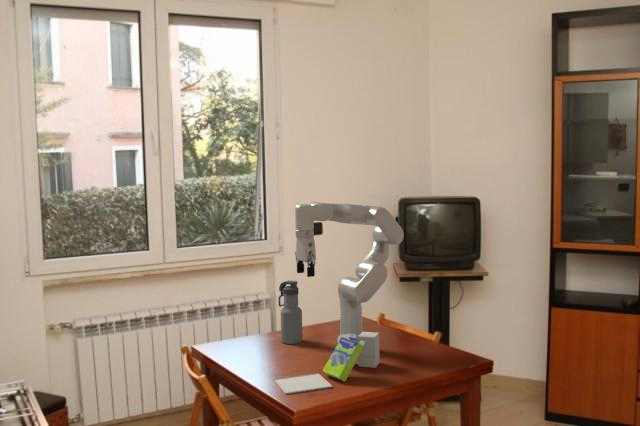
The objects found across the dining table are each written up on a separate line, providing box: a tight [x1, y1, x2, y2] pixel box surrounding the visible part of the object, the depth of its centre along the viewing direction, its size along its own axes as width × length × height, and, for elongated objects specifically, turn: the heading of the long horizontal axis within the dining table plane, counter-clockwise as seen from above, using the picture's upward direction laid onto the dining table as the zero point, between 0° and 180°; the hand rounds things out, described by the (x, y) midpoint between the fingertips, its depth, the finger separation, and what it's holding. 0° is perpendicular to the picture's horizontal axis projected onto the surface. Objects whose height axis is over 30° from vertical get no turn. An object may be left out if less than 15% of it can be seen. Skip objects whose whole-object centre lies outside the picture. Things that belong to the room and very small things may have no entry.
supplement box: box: [357, 331, 381, 369], centre depth 264 cm, size 7×7×13 cm
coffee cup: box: [336, 333, 358, 367], centre depth 264 cm, size 8×8×12 cm
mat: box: [273, 372, 334, 396], centre depth 244 cm, size 18×16×1 cm
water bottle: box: [277, 279, 303, 345], centre depth 298 cm, size 10×10×28 cm
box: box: [322, 337, 366, 383], centre depth 251 cm, size 10×4×17 cm
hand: (305, 274), depth 273 cm, fingers open, 9 cm apart
